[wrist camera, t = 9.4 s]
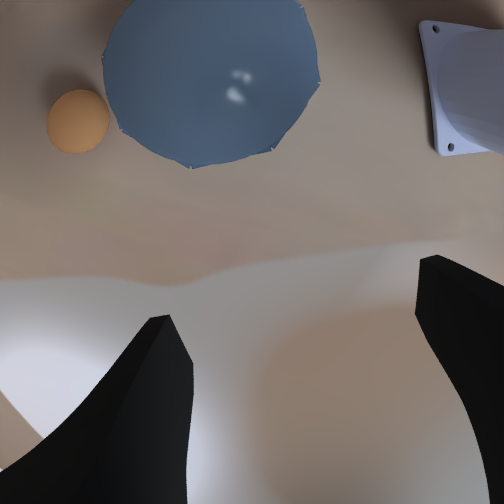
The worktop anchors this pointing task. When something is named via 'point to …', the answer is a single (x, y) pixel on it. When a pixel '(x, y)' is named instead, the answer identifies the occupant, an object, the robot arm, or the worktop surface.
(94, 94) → the ball
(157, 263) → the worktop surface
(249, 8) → the cup
